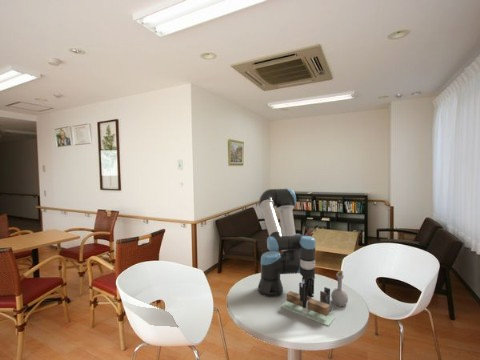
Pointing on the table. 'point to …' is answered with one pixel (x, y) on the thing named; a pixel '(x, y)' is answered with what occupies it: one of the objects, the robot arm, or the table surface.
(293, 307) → the mat
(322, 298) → the rack
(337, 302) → the potion bottle
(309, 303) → the rail
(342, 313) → the table surface
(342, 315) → the table surface
